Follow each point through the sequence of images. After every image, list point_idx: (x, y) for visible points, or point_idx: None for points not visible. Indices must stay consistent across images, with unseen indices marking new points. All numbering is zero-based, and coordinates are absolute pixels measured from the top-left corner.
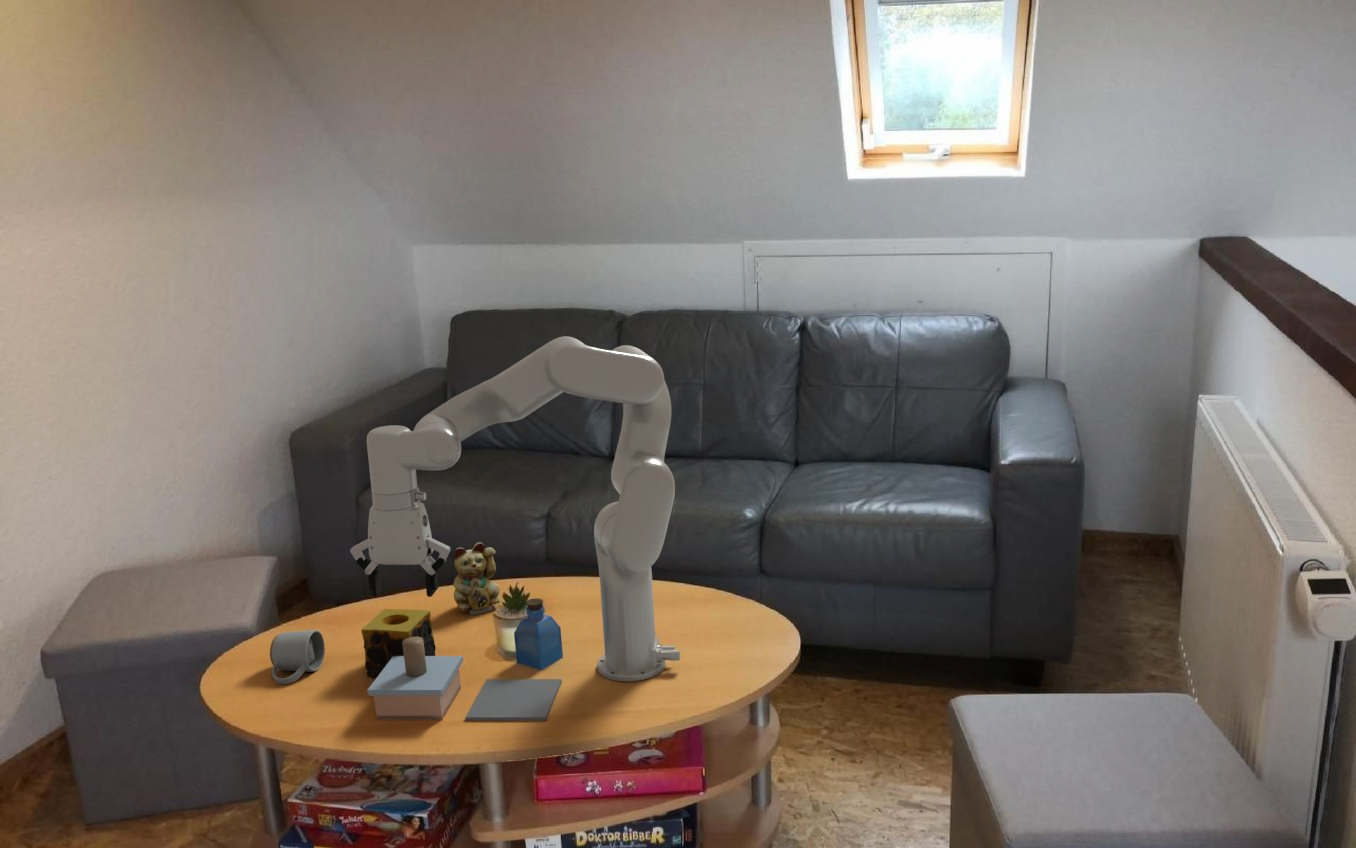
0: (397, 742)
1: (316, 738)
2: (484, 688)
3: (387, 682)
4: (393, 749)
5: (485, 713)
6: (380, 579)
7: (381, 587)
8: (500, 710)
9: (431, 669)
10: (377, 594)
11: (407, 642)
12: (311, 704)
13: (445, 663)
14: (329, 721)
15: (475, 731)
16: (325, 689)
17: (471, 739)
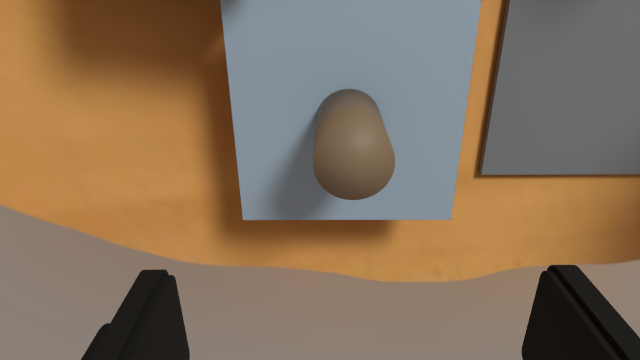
0: (347, 251)
1: (168, 239)
2: (516, 23)
3: (281, 180)
4: (347, 273)
5: (528, 157)
6: (146, 350)
7: (168, 294)
8: (566, 144)
9: (391, 99)
10: (187, 349)
11: (336, 175)
12: (57, 97)
13: (429, 56)
14: (155, 175)
15: (506, 212)
16: (36, 10)
17: (501, 240)
